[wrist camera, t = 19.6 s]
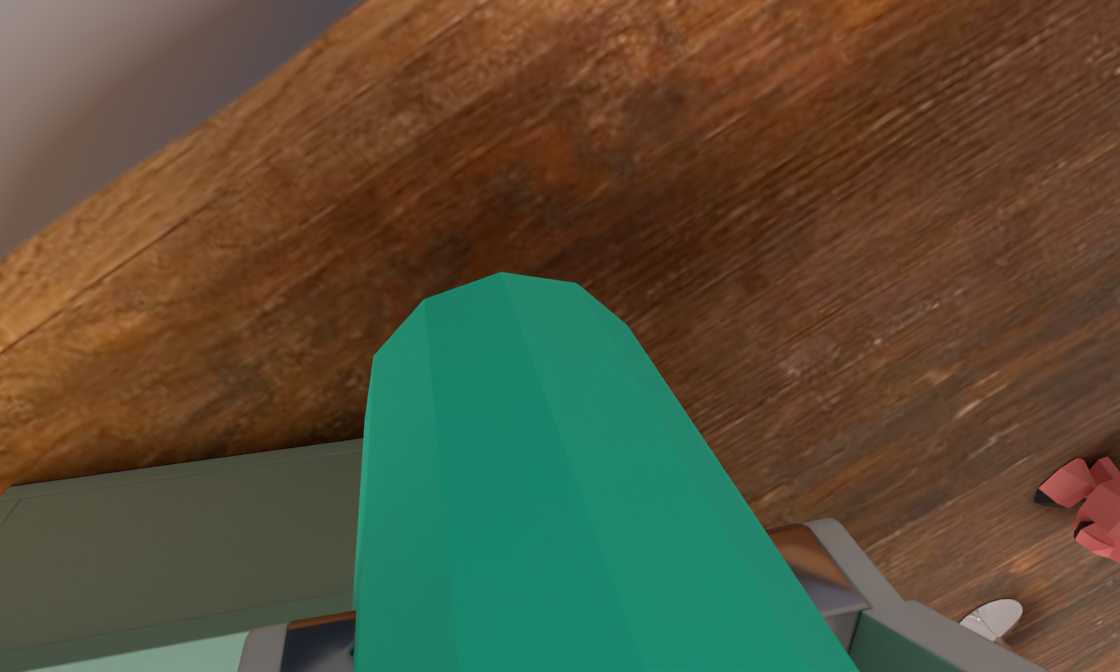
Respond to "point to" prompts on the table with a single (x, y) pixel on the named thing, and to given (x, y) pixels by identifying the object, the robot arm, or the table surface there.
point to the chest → (176, 542)
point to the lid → (170, 642)
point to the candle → (556, 506)
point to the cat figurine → (1088, 503)
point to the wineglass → (995, 620)
